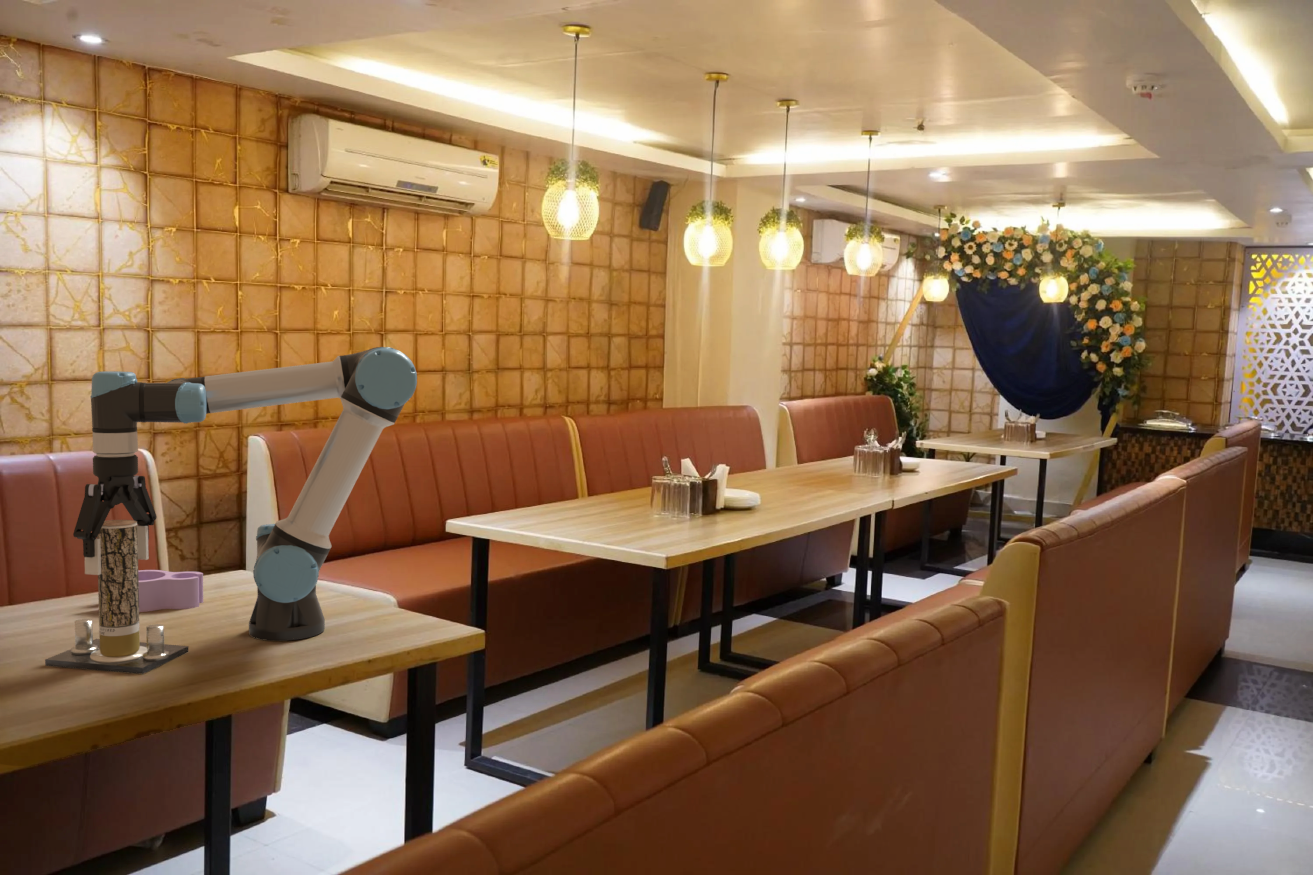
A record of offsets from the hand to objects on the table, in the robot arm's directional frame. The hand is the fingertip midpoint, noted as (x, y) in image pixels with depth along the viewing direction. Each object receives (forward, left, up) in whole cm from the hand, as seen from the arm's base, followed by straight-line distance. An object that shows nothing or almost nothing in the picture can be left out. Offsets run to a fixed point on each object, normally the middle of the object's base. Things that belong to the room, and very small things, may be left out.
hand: (117, 566), depth 200 cm
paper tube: (0, 0, -17) cm, 17 cm away
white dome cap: (0, 0, -17) cm, 17 cm away
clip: (+19, -38, -19) cm, 47 cm away
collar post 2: (-8, 0, -17) cm, 19 cm away
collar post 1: (+7, 0, -17) cm, 19 cm away
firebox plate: (+1, -1, -18) cm, 18 cm away
